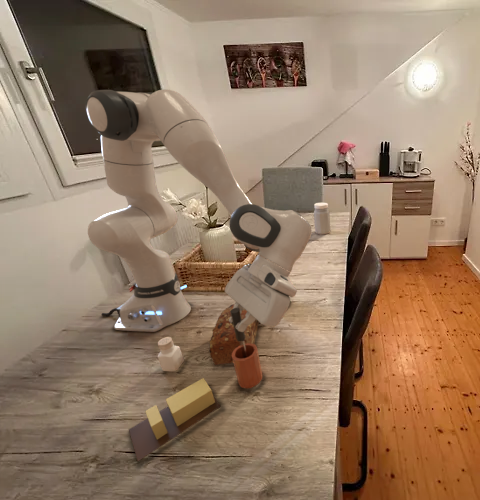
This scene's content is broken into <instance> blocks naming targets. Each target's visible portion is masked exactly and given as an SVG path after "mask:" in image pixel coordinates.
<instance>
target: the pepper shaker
mask: <svg viewBox="0 0 480 500" xmlns="http://www.w3.org/2000/svg"><path fill="white" fill-rule="evenodd" d="M157 346H158V348H159V351H160V352H158V354H157V360H158V362H159V365H160V367H161V370H162V371H163V372H176V371H178V370H179V369H180V367H181V366H182V364H183V363H184V361H185V359H184V355H183V353H182V350H181V347H180V346H178V345H175V343H174V341H173V339H172V337H171V336H166V337H163V338H161V339H159V340H158V341H157Z"/></svg>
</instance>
